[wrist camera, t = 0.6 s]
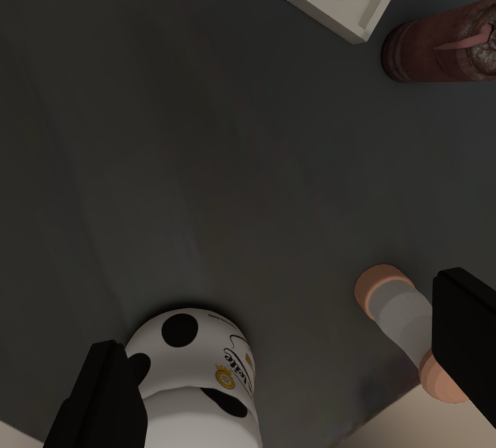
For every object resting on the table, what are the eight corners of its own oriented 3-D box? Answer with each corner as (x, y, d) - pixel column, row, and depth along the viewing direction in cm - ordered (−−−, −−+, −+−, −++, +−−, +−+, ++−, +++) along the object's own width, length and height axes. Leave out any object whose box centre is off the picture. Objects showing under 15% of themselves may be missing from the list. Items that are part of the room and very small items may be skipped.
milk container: (274, 338, 53) (310, 455, 36) (198, 415, 56) (199, 555, 39) (176, 273, 47) (166, 376, 31) (98, 363, 50) (50, 500, 34)
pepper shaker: (343, 292, 52) (421, 401, 34) (380, 254, 50) (481, 347, 32) (377, 317, 54) (466, 431, 36) (413, 282, 52) (524, 382, 35)
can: (373, 33, 40) (458, 8, 27) (428, 15, 40) (539, -18, 27) (381, 90, 42) (463, 92, 29) (433, 73, 42) (538, 68, 29)
